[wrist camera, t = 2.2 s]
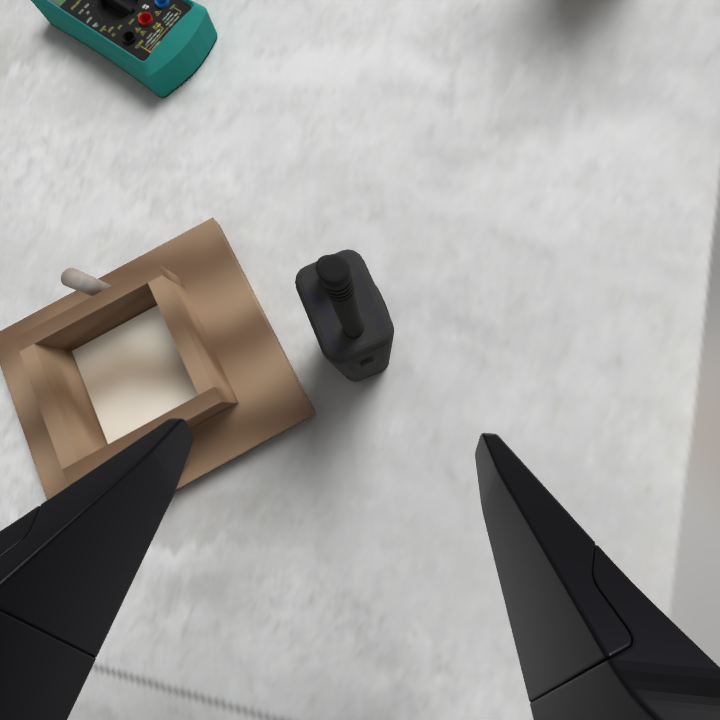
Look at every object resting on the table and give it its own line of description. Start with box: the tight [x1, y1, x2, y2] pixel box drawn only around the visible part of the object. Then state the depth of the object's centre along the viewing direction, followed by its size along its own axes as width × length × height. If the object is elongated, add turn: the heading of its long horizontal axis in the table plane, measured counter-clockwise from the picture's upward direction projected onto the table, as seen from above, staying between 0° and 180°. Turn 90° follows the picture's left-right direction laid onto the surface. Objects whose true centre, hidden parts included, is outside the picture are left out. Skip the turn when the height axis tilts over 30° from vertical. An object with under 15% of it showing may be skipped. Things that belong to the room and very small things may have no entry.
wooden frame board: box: [0, 218, 316, 500], centre depth 21 cm, size 16×18×4 cm
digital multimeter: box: [31, 0, 217, 97], centre depth 27 cm, size 7×15×3 cm, turn 53°
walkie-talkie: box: [295, 250, 394, 382], centre depth 15 cm, size 5×3×15 cm
